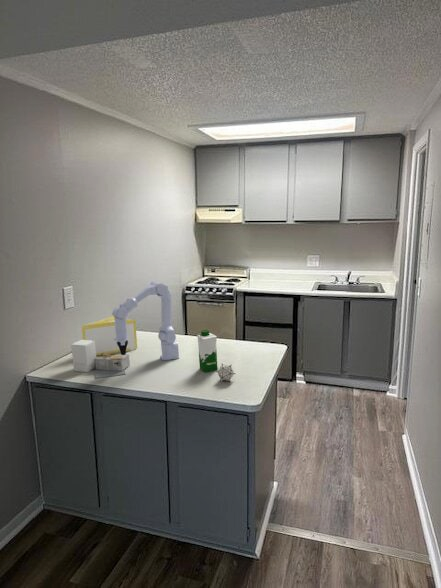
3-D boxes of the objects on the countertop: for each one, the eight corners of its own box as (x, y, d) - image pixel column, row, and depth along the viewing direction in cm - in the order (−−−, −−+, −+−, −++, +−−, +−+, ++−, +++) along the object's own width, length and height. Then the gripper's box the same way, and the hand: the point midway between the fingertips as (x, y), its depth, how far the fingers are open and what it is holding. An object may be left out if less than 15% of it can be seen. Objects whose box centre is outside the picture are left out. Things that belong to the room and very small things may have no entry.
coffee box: (130, 365, 226) (103, 363, 230) (129, 354, 225) (102, 352, 229) (122, 371, 217) (94, 369, 221) (121, 359, 216) (93, 358, 220)
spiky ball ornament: (222, 387, 202) (215, 368, 206) (238, 379, 202) (230, 361, 206) (220, 385, 194) (212, 365, 197) (237, 377, 194) (228, 358, 197)
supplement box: (97, 366, 228) (95, 340, 225) (87, 372, 219) (84, 345, 216) (84, 365, 231) (81, 339, 228) (73, 371, 222) (70, 344, 219)
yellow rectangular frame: (122, 340, 274) (120, 311, 271) (148, 344, 264) (146, 315, 260) (81, 357, 245) (78, 325, 241) (108, 362, 234) (105, 329, 230)
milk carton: (212, 364, 223) (210, 328, 219) (220, 369, 215) (218, 332, 211) (197, 368, 219) (195, 331, 215) (204, 373, 211) (202, 335, 207)
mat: (123, 365, 227) (123, 364, 227) (125, 374, 214) (125, 373, 214) (95, 369, 223) (95, 368, 223) (95, 378, 210) (95, 377, 210)
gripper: (112, 327, 222) (115, 351, 225) (113, 334, 209) (116, 360, 211) (126, 325, 224) (128, 349, 227) (128, 332, 211) (130, 358, 213)
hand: (123, 354), depth 219 cm, fingers closed
